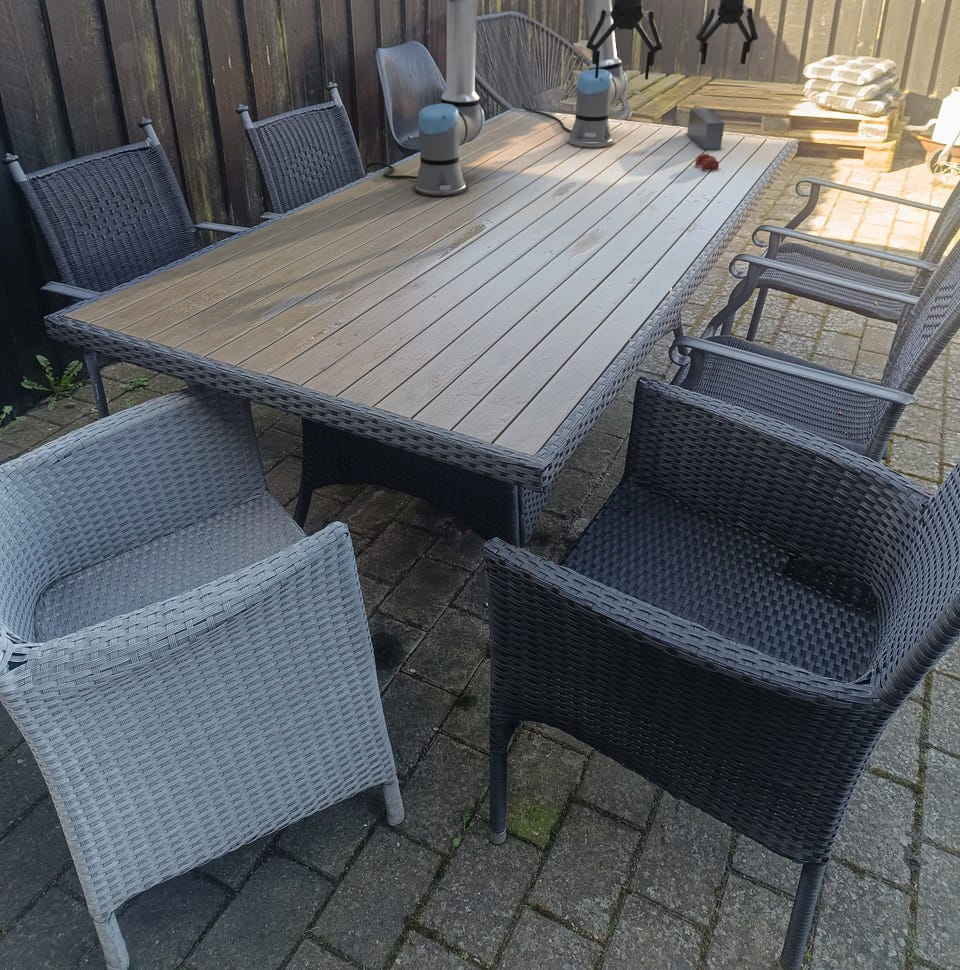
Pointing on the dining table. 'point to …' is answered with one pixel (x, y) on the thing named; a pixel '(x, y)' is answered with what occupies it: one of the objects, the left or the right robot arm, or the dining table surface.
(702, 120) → the bar
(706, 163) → the dental model
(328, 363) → the dining table surface
